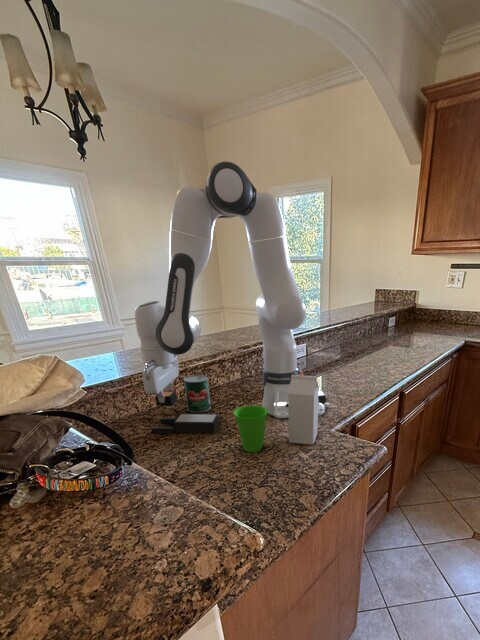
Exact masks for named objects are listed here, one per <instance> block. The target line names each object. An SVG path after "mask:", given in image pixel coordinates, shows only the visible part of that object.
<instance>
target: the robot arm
mask: <svg viewBox="0 0 480 640" xmlns="http://www.w3.org/2000/svg"><path fill="white" fill-rule="evenodd" d="M235 217H239V218H240V219H241V221H242V223H243V224H244V227H245V231H246V237H247V241H248V247H249V252H250V257H251V262H252V267H253V272H254V275H255V276H256V278H257V282H258V284H259V288H260V290H261V293H259V295H258V296H257V298H256V300H255V310H256V313H257V319H258V325H259V326H258V327H259V332H260V336H261V340H262V349H263V350H262V352H263V370H262V384H263V397H262V403H261V406H262V407H265V408H266V409H267V410H268V413H267V415H271V416H274V418H275V419H276V418H277V419H289V412H288V392H289V387H290V382H291V375H298V376H305V374H304V372H303V370H302V369H299V368H298V346H297V342H296V340H295V336H294V331H293V330H295V329H298V328H299V327H301V326H302V324H303V323H304V322H305V319H306V316H307V308H306V305H305V303H304V301H303V299H302V298H301V295H300V291H299V288H298V284H297V281H296V279H295V278H296V277H295V275H294V271H293V268H292V264H291V258H290V252H289V244H288V239H287V232H286V231H287V230H286V227H285V222H284V217H283V214H282V211H281V208H280V203H279V201H278V200H277V198H276V197H275V196H274V195H273V194H271V193H268V192H258V191H257V188H256V187H255V186H254V184H253V182H251V180H250V178H249V177H248V174H247V173H246V172H245V171H244V170H243V169H242V167H240V166H239V165H238V164H236V163H234V162H232V161H220V162H218V163H216V164H214V165H213V166H212V167H211V169H209V172H208V174H207V177H206V184H205V186H203V187H201V188H198V187H196V186H183V187H180V188H179V189H178V190H177V191H176V194H175V197H174V201H173V205H172V211H171V216H170V225H169V246H168V247H169V261H168V262H169V266H168V268H169V269H168V271H169V272H168V279H167V280H168V281H167V288H166V296H165V304H164V303H162V302H161V301H158V300H155V301H147V302H145V303H141V304H138V305H137V306H136V307H135V309H134V320H135V321H134V322H135V328H136V333H137V336H138V338H139V340H140V351H141V356H142V360H143V364H144V365H145V366H144V369H143V370H142V382H143V383H142V384H143V389H144V392H145V394H146V395H150V396H152V395H153V396H156V395H157V397H158V399H159V402H160V403H164V402H165V401H166V397H165V396H164V394H163V392H164V389H165V392H169V391H173V389H174V388H173V386H174V382H173V381H175V380H176V379H177V378H179V374H180V370H179V369H180V368H179V361H178V358H177V357H178V356H179V355H183V354H186V353H187V352H188V351H190V350H191V348H192V347H193V344H194V343H195V342H196V341H197V340H198V338H199V337H200V334H201V332H202V331H201V330H202V329H201V324H200V322H199V320H198V319H197V317H195V316H194V315H193V314H191V305H192V299H193V292H194V287H195V284H196V281H197V279H198V277H199V276H200V274H201V273H202V272H203V271H204V269H205V268H206V267H207V265H208V262H209V258H210V255H211V250H212V244H213V235H214V229H215V228H214V227H215V224H216V221H217V219H228V218H229V219H230V218H235ZM326 402H327V397H326V394H325V393H324V391H323V390H319V394H318V417H319V416H323V414H324V413H325V411H326V406H325V403H326Z"/></svg>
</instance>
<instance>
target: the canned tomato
mask: <svg viewBox="0 0 480 640" xmlns="http://www.w3.org/2000/svg"><path fill="white" fill-rule="evenodd" d="M208 379H209V377H208V376H207V375H202V374H194V375H188V376H185V377H184V378H183V386H184V392H185V399H186V400H185V401H186V405H187V411H188V412H189V413H192V414H202V413H205V412H208V411H210V410H211V409H212V406H211V397H210V389H209V380H208Z"/></svg>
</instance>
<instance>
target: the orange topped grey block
mask: <svg viewBox="0 0 480 640" xmlns="http://www.w3.org/2000/svg"><path fill="white" fill-rule="evenodd" d="M163 394H164V396H165V397H166V401H165V402H164V403H160V402H159V399H158V397H157V395H154V398H155V403H156V407H172V406H173V405H174V404H175V403H176V402H177V401H178V398H177V392H176V391H175V390H174V391H173V390H172V391H169V392H166V391H163Z"/></svg>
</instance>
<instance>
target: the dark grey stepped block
mask: <svg viewBox="0 0 480 640" xmlns="http://www.w3.org/2000/svg"><path fill="white" fill-rule="evenodd" d="M159 419H160V424H172V425H173V426H153V427H151V432H152V434H174V433H207V434H208V433H213V434H214V433H215V432H216V431H217V428H218V427H219V425H220V415H219V413H180V414H179V415H178V416H177V417H161V418H159Z"/></svg>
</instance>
